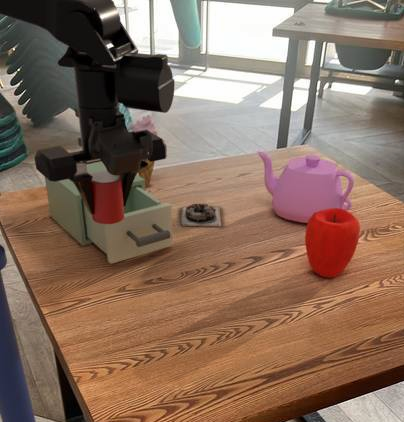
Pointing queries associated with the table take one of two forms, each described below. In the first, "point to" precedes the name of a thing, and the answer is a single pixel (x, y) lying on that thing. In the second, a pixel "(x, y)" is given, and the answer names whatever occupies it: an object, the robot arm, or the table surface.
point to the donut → (200, 215)
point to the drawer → (132, 227)
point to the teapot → (306, 187)
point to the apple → (331, 241)
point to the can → (107, 198)
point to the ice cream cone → (145, 172)
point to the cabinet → (74, 203)
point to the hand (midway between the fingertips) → (107, 209)
